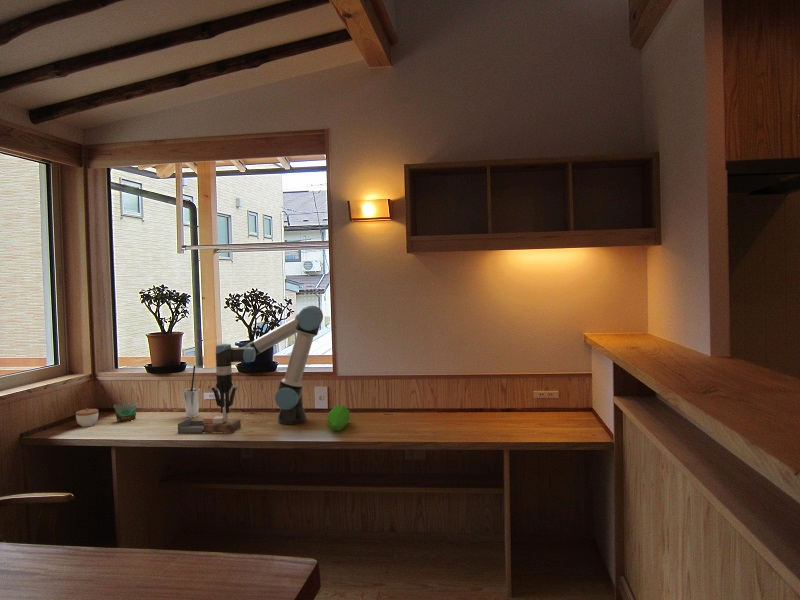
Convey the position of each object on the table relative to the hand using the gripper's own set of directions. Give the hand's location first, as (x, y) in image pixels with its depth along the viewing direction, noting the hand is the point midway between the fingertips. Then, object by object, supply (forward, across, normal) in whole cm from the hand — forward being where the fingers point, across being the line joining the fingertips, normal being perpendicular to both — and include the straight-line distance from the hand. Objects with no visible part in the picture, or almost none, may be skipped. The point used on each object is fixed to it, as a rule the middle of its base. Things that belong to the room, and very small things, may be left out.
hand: (225, 419), depth 276 cm
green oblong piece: (+6, +58, +2) cm, 58 cm away
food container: (+6, -63, +16) cm, 65 cm away
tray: (+6, -16, 0) cm, 17 cm away
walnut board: (+6, -2, 0) cm, 6 cm away
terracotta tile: (+2, -8, 0) cm, 8 cm away
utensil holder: (+6, -30, +26) cm, 40 cm away
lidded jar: (+6, -80, +7) cm, 81 cm away
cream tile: (+2, -3, 0) cm, 4 cm away
